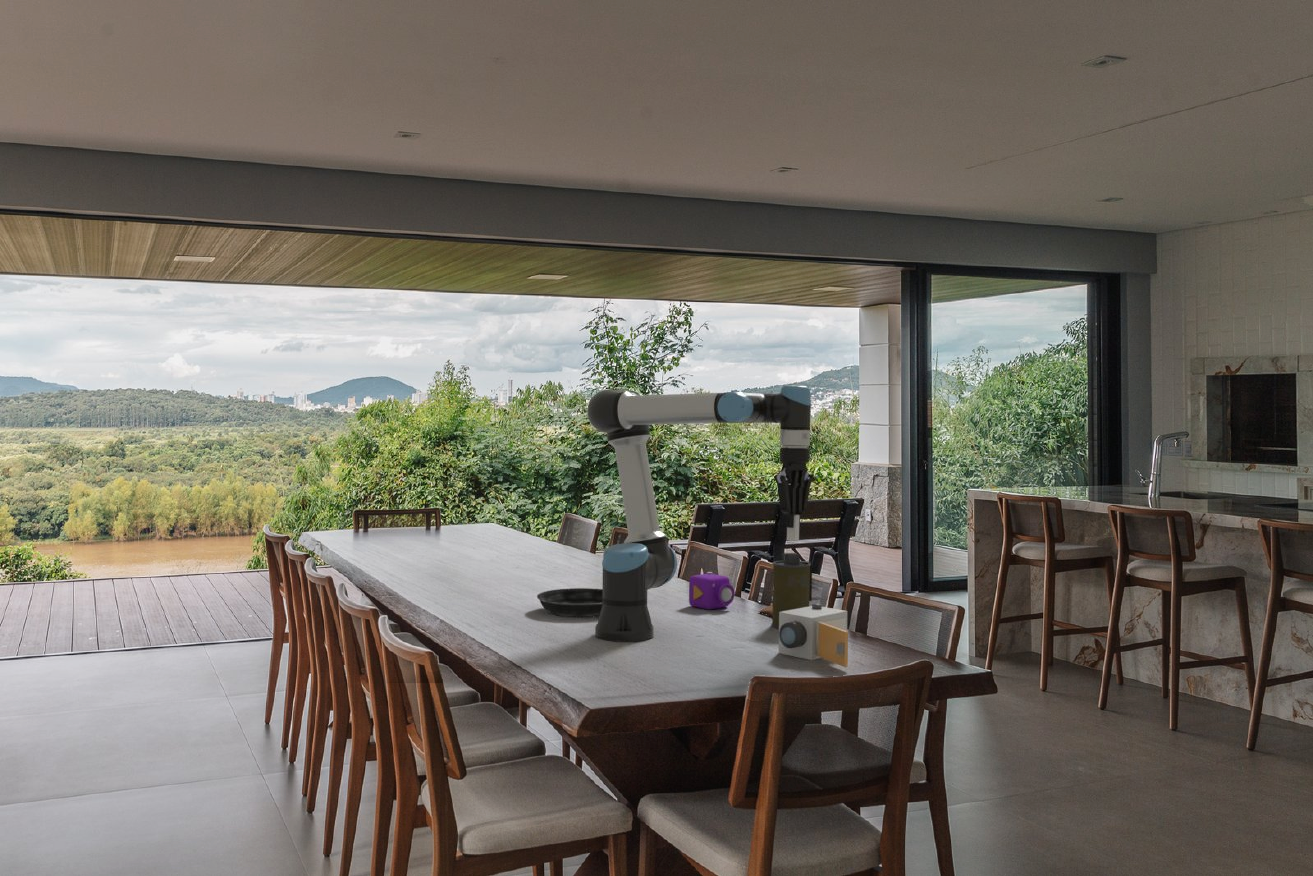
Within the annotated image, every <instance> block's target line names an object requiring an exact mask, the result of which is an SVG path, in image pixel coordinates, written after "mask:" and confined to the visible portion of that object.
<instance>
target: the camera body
mask: <svg viewBox="0 0 1313 876" xmlns="http://www.w3.org/2000/svg"><path fill="white" fill-rule="evenodd" d="M818 621H819V622H822V623H825V624H828V625H831V626H834V627H836V628H839V629H842V630H845V631H848V610H842V609H837V608H831V607H826V606H823V604H822V603H812V604H811V605H809V607H803V608H798V609H793V610H787V611H782V612H779V628H778V654H782V655H785V656H791V657H795V658H798V659H799V658H800V659H804V660H809V661H814V660H818V659H822V658H821V657H819V656H816V622H818Z"/></svg>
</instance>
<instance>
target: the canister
mask: <svg viewBox="0 0 1313 876" xmlns="http://www.w3.org/2000/svg"><path fill="white" fill-rule="evenodd" d="M781 556H783V560H775V561H772V565H773V566H772V567H773V569H772V570H773V571H772V573H773V574H772V604H773V615H772V623H771V627H773V628H775V627H777V628H776V629H779V612H782V611H787V610H793V609H798V608H803V607H809V606H810V602H812V596H813V595H812V594H813V593H812V592H813V591H812V589H813V586H812V585H813V582H812V581H813V562H812V561H809V560H803V561H802V560H801V558H800V554H798V553H796V552H784V553H781Z"/></svg>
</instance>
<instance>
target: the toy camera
mask: <svg viewBox="0 0 1313 876" xmlns="http://www.w3.org/2000/svg"><path fill="white" fill-rule="evenodd" d="M688 582H689V583H688V601H689V602H688V603H689V605H690V607H694V608H699V609H704V610H718V609H722V607H723V608H727V607H728V606H729V605H731V604H732V602H733V601H734V597H735V588H734V587H733V585H731V583H730V578H729V577H728V576H725V575H721V574H715V573H713V572H712V571H707V572H706V573H704V574H694V575H692V576H690V577H689V581H688ZM726 606H727V607H726Z"/></svg>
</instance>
